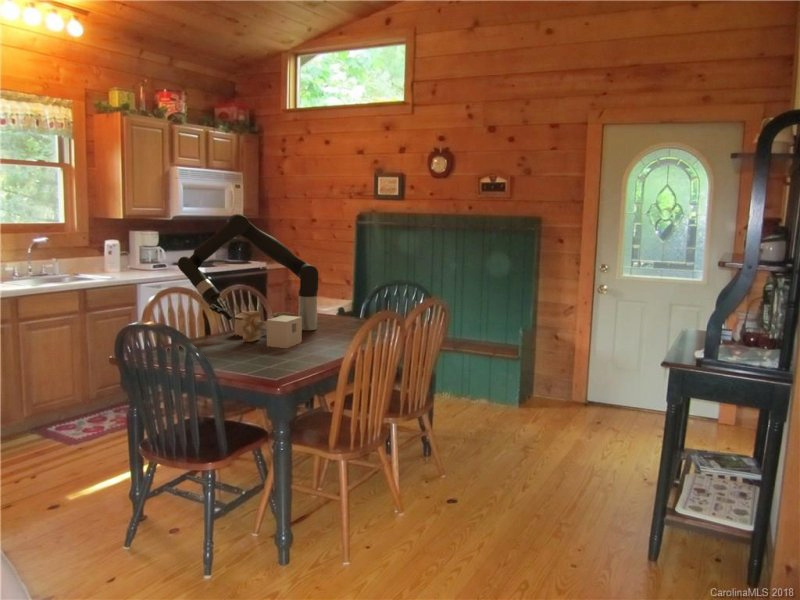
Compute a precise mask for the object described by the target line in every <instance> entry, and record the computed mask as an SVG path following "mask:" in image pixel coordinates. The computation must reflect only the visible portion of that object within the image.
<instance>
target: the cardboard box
mask: <svg viewBox="0 0 800 600" xmlns="http://www.w3.org/2000/svg"><path fill="white" fill-rule="evenodd" d="M267 319H268V318H267ZM266 321H267V330H266V347H269V346H270V348H271V347H272V348H278V347H279V349H280V348H281V349H289V348H291V346H292V347H294V346H297V345H299V344H302V343H301V342H303V341H302V339H303V338H302V335H303V334H302V332H303V330H302V317H299V316H295V315H294V316H285V315H282V316H278V317H275V318H272V319H268V320H266ZM296 344H297V345H296Z"/></svg>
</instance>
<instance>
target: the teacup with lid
mask: <svg viewBox="0 0 800 600" xmlns="http://www.w3.org/2000/svg"><path fill="white" fill-rule="evenodd" d="M245 312H247V311H246V310H242V311H241V312H239V314H237V315H235V316H233V317H234V335H235V334H237V335H243V313H245ZM237 335H236V336H237Z"/></svg>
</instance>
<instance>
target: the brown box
mask: <svg viewBox="0 0 800 600" xmlns="http://www.w3.org/2000/svg"><path fill="white" fill-rule="evenodd" d="M260 318H261V311H259V310H249V311H246V312H245V313H243V336H242V341H243V342H247V343H251V342H255V341H258V340H260V339H261V330H266V331H267V320H261V319H260Z"/></svg>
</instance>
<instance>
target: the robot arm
mask: <svg viewBox="0 0 800 600" xmlns="http://www.w3.org/2000/svg"><path fill="white" fill-rule="evenodd" d="M238 236H241V237H243V238H244V239H246V240H248V242H250V243H251V244H253V245H254V246H255V247H256V248H257V249H258V251H260V252H261V253H263V254H264V255H265V256H266V257H268V258H269V259H271V260H273V261H275V263H278V264H279V265H281V266H284V267H285V268H286V269H288V270H289V271H291V272H292V273H293V274H294V275H295V276H296V277H298V278H299V289H298V317H302V331H315V330H317V328H318V292H319V291H318V290H319V271H318V269H317V267H316V266H314V265H312V264H309V263H307V262H306V261H304V260H303V259H300V258H299V257H298V256H296V255H295V253H293V252H292V251H291V250H290V249H289V248H288V247H287V246H285V244H283V243H282V242H280V241H279V240H277V239H276V238H275V237H273V236H272V235H269V234H268V233H266V232H264V231H262V230H260V229H259V228H258V227H256V226H255V225H254V224H252V223H251V222H250V221H249V219H248V218H247V217H246V216H245V215H243V214H240V213H237V214H233V215H231V216H230V217H229V219H228V221H227V224H226V225H225V226H224V227H223V228H222V229H220V230H219V231H218V232H217V233H216V234H213V236H211V237H209V238H208V239H207V240H205V241H204V242H202V243H201V244H200V245H199V246H197V247H195V249H194V250H193V254H191V256H190V257H188V256H182V257H180V258H178V260H177V267H178V269H179V270H180V271H181V273H182V274H184V276H185V277H186V278H187V279H188V280H189V281H190V283H191V284H192V286H193V287H194V288H195V289H196V290H197V292H198V294H199V295H200V296H201V297H202V299H203V300H204V301H205V302H206V304H209V305H210V306H209V309H210V310H212V311H213V312H215V313H216V314H218V315H222V316H224V317H225V318H226V320H227V321H230V320H232V319H233V316H232V314H231V313H230V309H231V308H230V303H229V301H228V300H226V301H225V300H224V298H222V297H221V292H220V291H219V290H218V289H217V287H215V285H214V284H213V282H211V281H210V280H209V279H208V277H207V276H206V275H205V274H204V273H203V272H202V271H201V270H200V269H199V268H200V267H201V266H202V264H204V262H205V261H206V260H208V259H209V258H210V257H211V256H213V255H214V254H216V252H218V251H219V250H220V249H221V248H222V247H223V246H225V245H226V244H227V243H228V242H230V241H232V240H233V239H235V238H236V237H238Z"/></svg>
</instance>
